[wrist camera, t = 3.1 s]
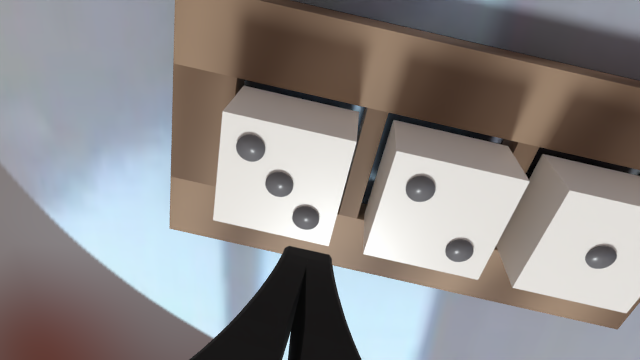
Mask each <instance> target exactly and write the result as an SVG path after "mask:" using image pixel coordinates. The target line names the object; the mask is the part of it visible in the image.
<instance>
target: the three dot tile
mask: <svg viewBox="0 0 640 360" xmlns="http://www.w3.org/2000/svg"><path fill="white" fill-rule="evenodd" d="M358 119H359V112H357V111H353V110H349V109H344V108H340V107H336V106H331V105H327V104H322V103H318V102H314V101H309V100H305V99H301V98H296V97H292V96H287V95H283V94H279V93H274V92H270V91H266V90H261V89H257V88H252V87H248V86H243V87H242V88H241V89H240V91H239V92H238V93H237V94H236V96H235V97H234V98H233V99H232V100H231V102H230V103H229V104H228V105H227V107H226V108H225V109H224V110H223V113H222V124H221V135H220V147H219V158H218V169H217V181H216V192H215V204H214V215H213V220H215V221H219V222H224V223H228V224H232V225H237V226H241V227H246V228H250V229H255V230H259V231H263V232H268V233H272V234H277V235H281V236H286V237H290V238H294V239H299V240H303V241H308V242H312V243H317V244H321V245H325V246H329V243H330V239H331V235H332V232H333V228H334V224H335V221H336V217H337V213H338V209H339V206H340V202H341V198H342V195H343V191H344V187H345V183H346V180H347V176H348V172H349V168H350V165H351V161H352V157H353V154H354V150H355V146H356V142H357V131H358Z"/></svg>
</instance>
